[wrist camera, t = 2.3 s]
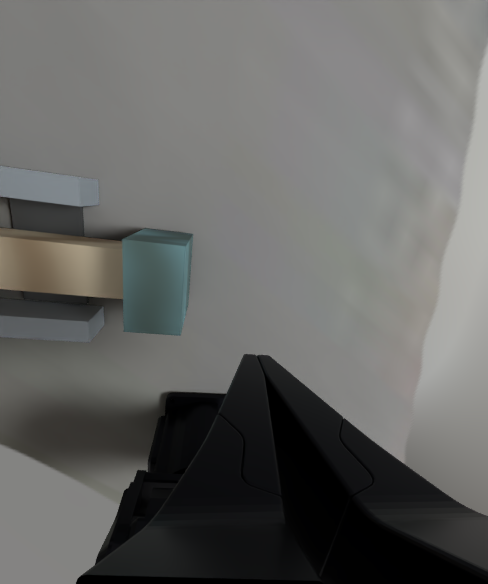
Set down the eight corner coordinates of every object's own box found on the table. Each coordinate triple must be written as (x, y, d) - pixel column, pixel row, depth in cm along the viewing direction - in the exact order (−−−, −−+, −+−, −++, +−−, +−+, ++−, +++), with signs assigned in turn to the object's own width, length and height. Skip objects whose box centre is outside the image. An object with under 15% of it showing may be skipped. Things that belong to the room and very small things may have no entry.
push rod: (193, 233, 17) (185, 246, 13) (188, 304, 19) (180, 335, 15) (-23, 207, 16) (-110, 212, 11) (-8, 287, 17) (-79, 317, 13)
